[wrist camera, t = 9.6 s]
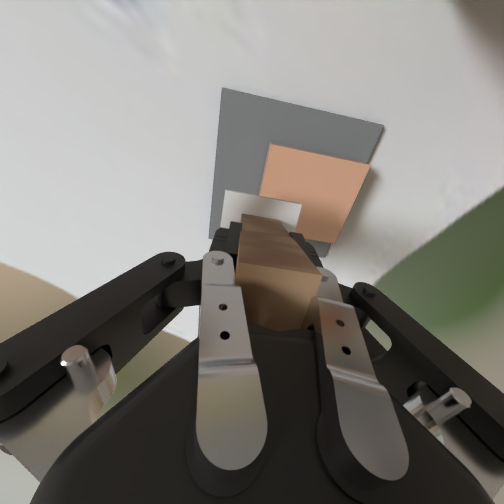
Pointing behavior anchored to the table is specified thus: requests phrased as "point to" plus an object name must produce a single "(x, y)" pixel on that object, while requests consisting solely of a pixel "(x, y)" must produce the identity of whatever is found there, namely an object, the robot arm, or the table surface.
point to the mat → (280, 132)
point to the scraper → (270, 260)
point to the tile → (313, 187)
